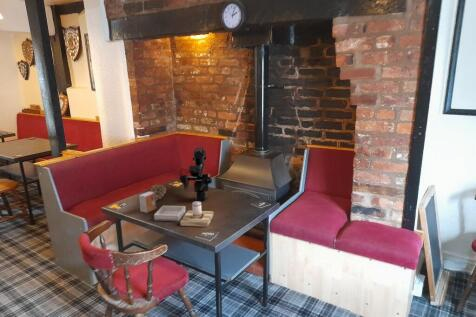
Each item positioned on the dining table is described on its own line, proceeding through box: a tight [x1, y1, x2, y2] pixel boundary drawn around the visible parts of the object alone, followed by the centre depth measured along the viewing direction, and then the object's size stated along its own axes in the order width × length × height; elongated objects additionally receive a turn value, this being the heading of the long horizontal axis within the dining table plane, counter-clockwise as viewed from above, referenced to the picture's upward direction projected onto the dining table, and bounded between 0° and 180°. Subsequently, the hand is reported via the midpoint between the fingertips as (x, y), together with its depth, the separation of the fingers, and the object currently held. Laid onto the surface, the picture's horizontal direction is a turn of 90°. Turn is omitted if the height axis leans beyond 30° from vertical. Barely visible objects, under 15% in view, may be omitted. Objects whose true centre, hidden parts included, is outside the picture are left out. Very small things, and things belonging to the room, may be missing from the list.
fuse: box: [191, 200, 203, 219], centre depth 191 cm, size 5×5×10 cm
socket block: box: [179, 210, 214, 228], centre depth 192 cm, size 15×15×2 cm
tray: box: [153, 204, 187, 222], centre depth 198 cm, size 14×14×4 cm
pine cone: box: [138, 184, 167, 202], centre depth 221 cm, size 22×10×10 cm, turn 151°
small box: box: [138, 190, 157, 214], centre depth 207 cm, size 8×6×10 cm
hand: (192, 190), depth 196 cm, fingers open, 9 cm apart
